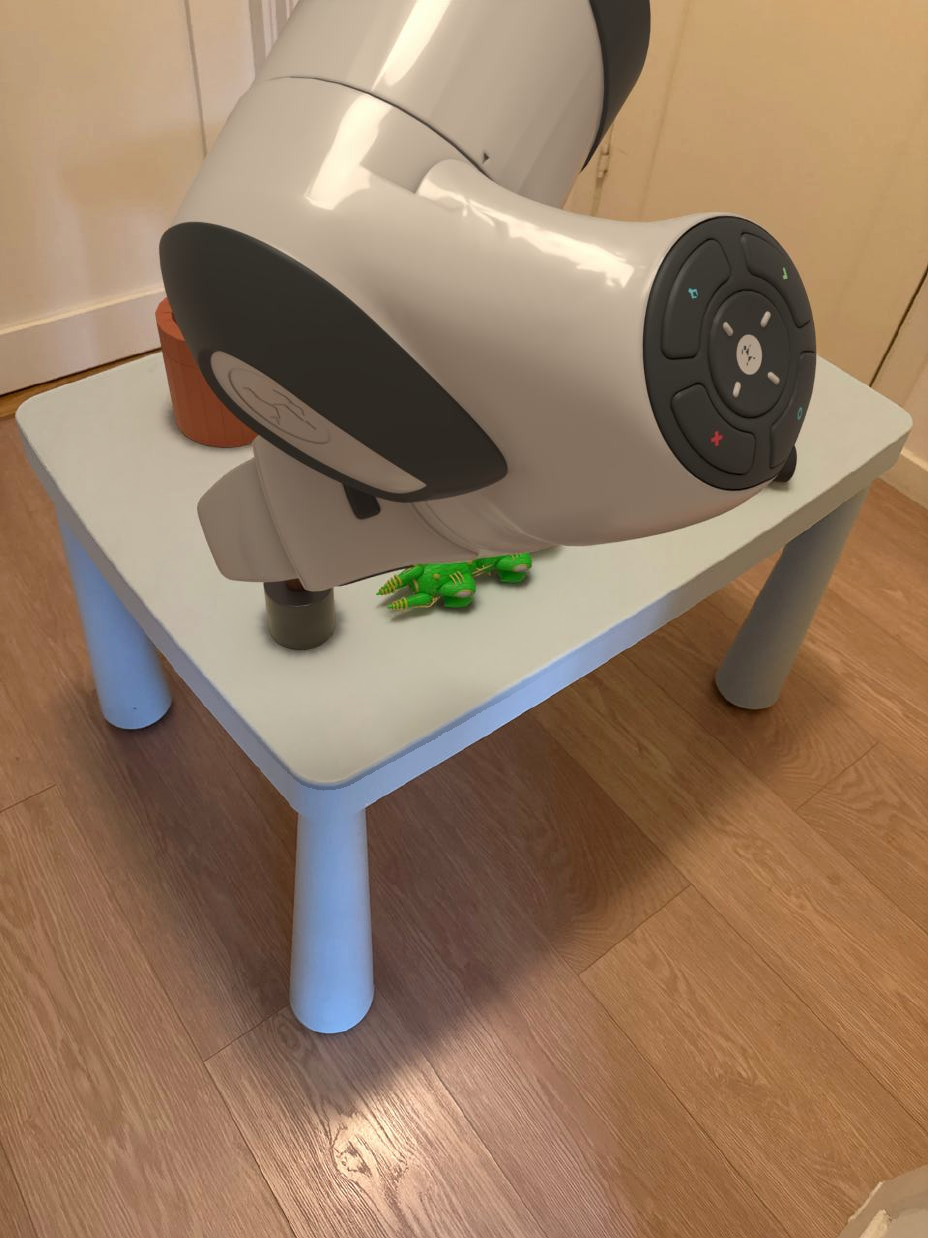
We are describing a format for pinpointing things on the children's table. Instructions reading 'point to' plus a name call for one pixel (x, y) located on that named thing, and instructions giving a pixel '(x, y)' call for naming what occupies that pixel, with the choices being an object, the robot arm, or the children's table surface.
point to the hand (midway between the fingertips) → (365, 490)
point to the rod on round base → (299, 614)
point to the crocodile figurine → (452, 580)
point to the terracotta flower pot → (195, 391)
